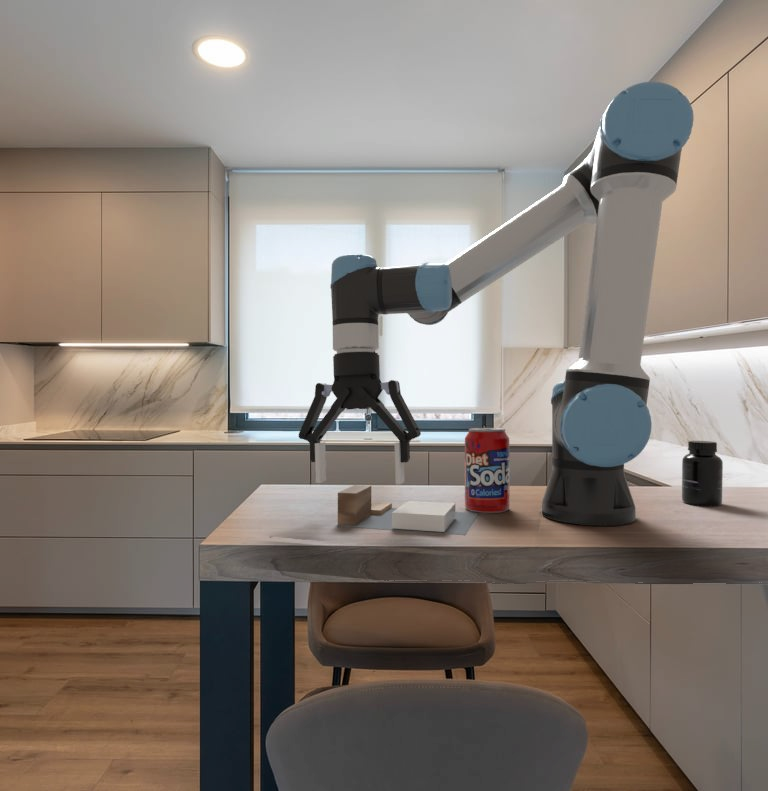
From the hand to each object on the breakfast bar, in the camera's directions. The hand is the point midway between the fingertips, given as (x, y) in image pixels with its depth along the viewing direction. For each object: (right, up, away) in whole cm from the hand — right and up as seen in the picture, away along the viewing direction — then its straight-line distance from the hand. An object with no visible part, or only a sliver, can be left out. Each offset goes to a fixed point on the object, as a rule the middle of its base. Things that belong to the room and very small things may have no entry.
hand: (359, 482), depth 91 cm
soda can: (+22, -7, +9) cm, 25 cm away
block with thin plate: (0, -6, +4) cm, 7 cm away
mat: (+8, -7, +1) cm, 11 cm away
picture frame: (+12, -5, +2) cm, 13 cm away
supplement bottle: (+65, -7, +17) cm, 68 cm away
